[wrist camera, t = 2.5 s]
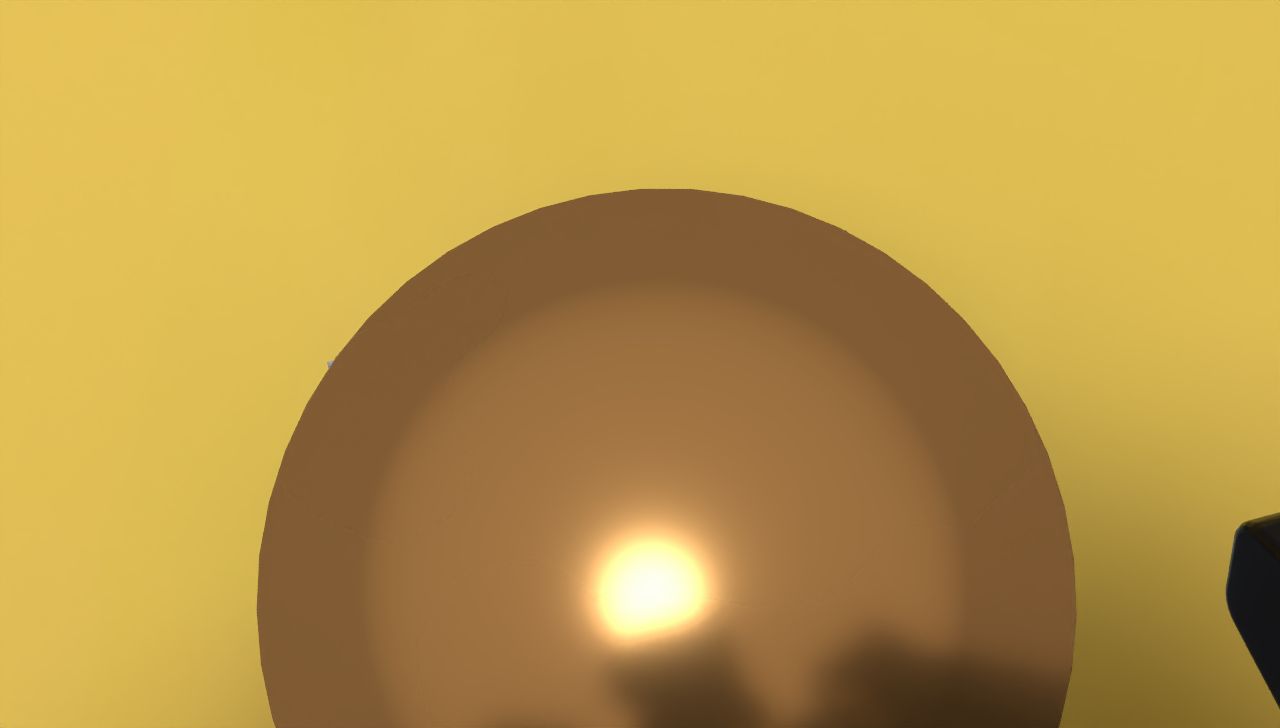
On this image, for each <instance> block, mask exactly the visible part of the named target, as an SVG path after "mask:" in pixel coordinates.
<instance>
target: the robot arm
mask: <svg viewBox="0 0 1280 728" xmlns="http://www.w3.org/2000/svg"><path fill="white" fill-rule="evenodd" d="M1226 601H1227V605H1228V609H1229V612H1230V614H1231V617H1232V619H1233V621H1234V623H1235V625H1236V627H1237V629H1238V631H1239V633H1240V635H1241V637H1242V639H1243V640H1244V642H1245V644H1246V646H1247V648H1248V650H1249V652H1250V654H1251V656H1252V657H1253V659H1254V661H1255V663H1256V665H1257V667H1258V669H1259V671H1260V673H1261V674H1262V676H1263V678H1264V680H1265V682H1266V684H1267V686H1268V688H1269V690H1270V691H1271V693H1272V695H1273V697H1274V699H1275V701H1276V703H1277V705H1278V707H1279V709H1280V513H1276V514H1272V515H1268V516H1264V517H1261V518H1257V519H1253V520H1249V521H1246V522H1244V523H1242V524H1241V525H1240V526H1239V528H1238V529H1237V530H1236V533H1235V536H1234V542H1233V548H1232V554H1231V560H1230V566H1229V572H1228V578H1227V584H1226Z"/></svg>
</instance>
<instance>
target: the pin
mask: <svg viewBox="0 0 1280 728" xmlns="http://www.w3.org/2000/svg"><path fill="white" fill-rule="evenodd" d="M257 619H258V631H259V644H260V657H261V666H262V671H263V676H264V680H265V685H266V690H267V695H268V699H269V704H270V709H271V713H272V718H273V721H274V724H275V727H276V728H1058V727H1059V724H1060V721H1061V716H1062V711H1063V707H1064V702H1065V697H1066V693H1067V688H1068V684H1069V679H1070V674H1071V670H1072V659H1073V647H1074V635H1075V623H1076V598H1075V576H1074V558H1073V553H1072V547H1071V541H1070V536H1069V530H1068V524H1067V519H1066V513H1065V507H1064V504H1063V500H1062V497H1061V494H1060V491H1059V488H1058V484H1057V481H1056V478H1055V475H1054V472H1053V468H1052V465H1051V462H1050V459H1049V456H1048V453H1047V451H1046V449H1045V447H1044V444H1043V442H1042V440H1041V438H1040V436H1039V434H1038V431H1037V429H1036V427H1035V425H1034V423H1033V420H1032V418H1031V416H1030V414H1029V412H1028V410H1027V407H1026V405H1025V404H1024V402H1023V401H1022V399H1021V397H1020V396H1019V394H1018V393H1017V391H1016V389H1015V388H1014V386H1013V385H1012V383H1011V381H1010V380H1009V378H1008V376H1007V375H1006V373H1005V372H1004V370H1003V368H1002V367H1001V365H1000V364H999V362H998V361H997V359H996V358H995V357H994V356H993V354H992V353H991V352H990V351H989V349H988V348H987V347H986V346H985V345H984V343H983V342H982V341H981V340H980V338H979V337H978V336H977V335H976V334H975V332H974V331H973V330H972V329H971V327H970V326H969V325H968V324H967V322H966V321H965V320H964V319H963V318H962V317H961V316H960V315H959V314H958V313H957V312H956V311H954V310H953V309H952V308H951V307H950V306H949V305H948V304H947V303H946V302H945V301H944V300H943V299H942V298H941V297H940V296H939V295H938V294H937V293H936V292H935V291H934V290H932V289H931V288H930V287H929V286H928V285H927V284H926V283H925V282H923V281H922V280H921V279H919V278H918V277H917V276H915V275H914V274H912V273H911V272H910V271H908V270H907V269H906V268H904V267H903V266H902V265H900V264H899V263H898V262H896V261H895V260H893V259H892V258H891V257H889V256H888V255H887V254H885V253H884V252H882V251H880V250H878V249H876V248H875V247H873V246H871V245H869V244H868V243H866V242H864V241H862V240H860V239H859V238H857V237H855V236H853V235H851V234H850V233H848V232H846V231H844V230H842V229H841V228H838V227H836V226H834V225H831V224H829V223H826V222H824V221H821V220H819V219H816V218H814V217H811V216H809V215H806V214H804V213H801V212H799V211H796V210H794V209H791V208H787V207H783V206H779V205H776V204H772V203H768V202H764V201H760V200H757V199H753V198H749V197H745V196H740V195H732V194H725V193H717V192H709V191H702V190H694V189H637V190H629V191H621V192H613V193H605V194H597V195H590V196H586V197H582V198H578V199H574V200H570V201H566V202H562V203H558V204H555V205H551V206H547V207H543V208H539V209H537V210H534V211H532V212H529V213H527V214H524V215H522V216H519V217H517V218H514V219H512V220H509V221H507V222H504V223H502V224H499V225H497V226H494V227H492V228H490V229H488V230H487V231H485V232H483V233H481V234H479V235H477V236H476V237H474V238H472V239H470V240H468V241H467V242H465V243H463V244H461V245H459V246H458V247H456V248H454V249H452V250H450V251H448V252H447V253H446V254H444V255H443V256H442V257H440V258H439V259H437V260H436V261H435V262H433V263H432V264H431V265H429V266H428V267H426V268H425V269H424V270H422V271H421V272H420V273H418V274H417V275H416V276H414V277H413V278H411V279H410V280H409V281H407V282H406V283H405V284H404V285H403V286H402V287H401V288H400V289H399V290H398V291H396V292H395V293H394V294H393V295H392V296H391V297H390V298H389V299H388V300H387V301H386V302H385V303H384V304H383V305H382V306H381V307H380V308H379V309H377V310H376V311H375V312H374V313H373V314H372V315H371V316H370V317H369V318H368V319H367V320H366V322H365V323H364V324H363V325H362V327H361V328H360V329H359V330H358V331H357V333H356V334H355V335H354V336H353V338H352V339H351V340H350V341H349V342H348V344H347V345H346V346H345V347H344V349H343V350H342V351H341V352H340V353H339V355H338V356H337V357H336V358H335V360H334V361H333V363H332V365H331V366H330V368H329V369H328V371H327V373H326V374H325V376H324V377H323V379H322V381H321V382H320V384H319V385H318V387H317V389H316V390H315V392H314V393H313V395H312V397H311V398H310V400H309V401H308V403H307V405H306V407H305V409H304V412H303V414H302V416H301V418H300V420H299V422H298V425H297V427H296V429H295V431H294V433H293V435H292V437H291V440H290V442H289V444H288V446H287V448H286V450H285V453H284V456H283V460H282V463H281V466H280V469H279V472H278V475H277V479H276V482H275V485H274V488H273V491H272V494H271V498H270V501H269V505H268V511H267V516H266V522H265V528H264V533H263V539H262V544H261V550H260V555H259V575H258V595H257Z"/></svg>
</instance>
